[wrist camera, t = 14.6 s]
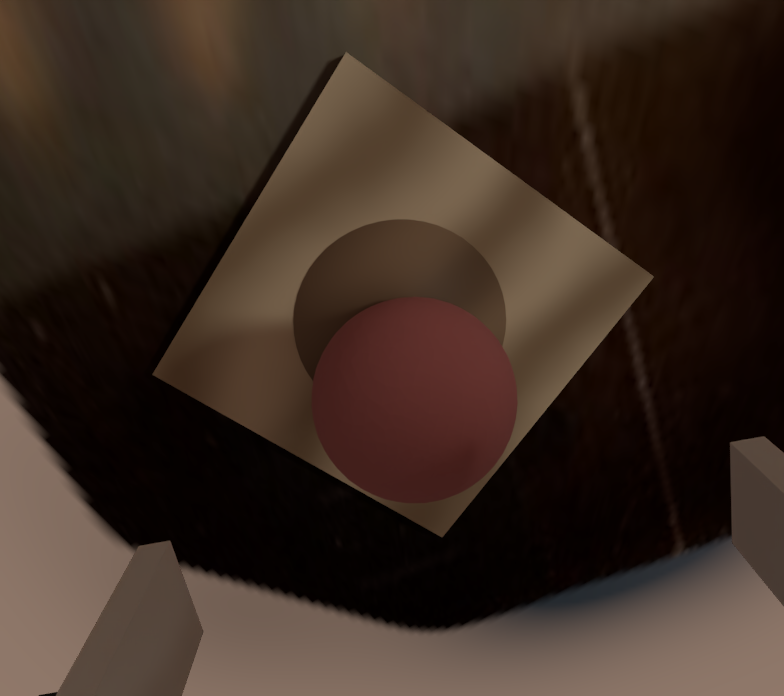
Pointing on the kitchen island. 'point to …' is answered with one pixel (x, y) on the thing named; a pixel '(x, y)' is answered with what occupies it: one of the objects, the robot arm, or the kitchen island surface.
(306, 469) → the kitchen island surface
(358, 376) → the dark red bulb shape
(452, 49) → the kitchen island surface
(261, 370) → the seat board
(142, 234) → the kitchen island surface
